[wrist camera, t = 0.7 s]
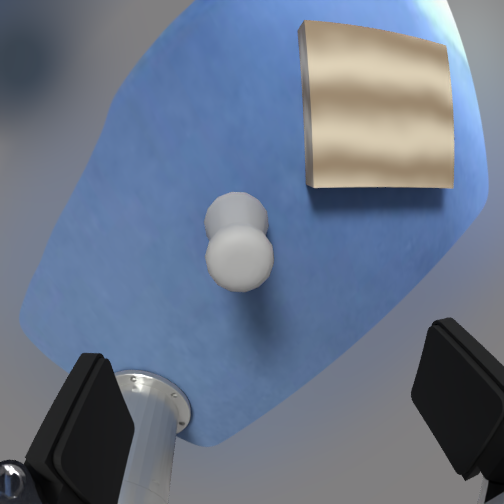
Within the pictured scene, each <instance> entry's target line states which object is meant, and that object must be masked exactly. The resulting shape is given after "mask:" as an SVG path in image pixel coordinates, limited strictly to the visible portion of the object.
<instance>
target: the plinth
mask: <svg viewBox="0 0 504 504" xmlns="http://www.w3.org/2000/svg"><path fill="white" fill-rule="evenodd" d="M298 40H299V53H300V66H301V81H302V97H303V116H304V139H305V169H306V185H308V186H311V187H313V188H333V187H424V188H453V183H454V120H453V103H452V90H451V79H450V70H449V62H448V55H447V48H446V46H445V45H442V44H439V43H435V42H432V41H428V40H424V39H420V38H416V37H412V36H408V35H404V34H399V33H395V32H390V31H385V30H380V29H374V28H368V27H362V26H355V25H348V24H341V23H332V22H322V21H310V20H304V21H303V23H302V24H301V26H300V28H299V29H298Z"/></svg>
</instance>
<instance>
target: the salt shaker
mask: <svg viewBox="0 0 504 504" xmlns="http://www.w3.org/2000/svg"><path fill="white" fill-rule="evenodd" d="M204 225H205V230H206V235H207V237H208V239H209V244H208V248H207V251H206V255H205V259H206V263H207V268H208V272H209V274H210V276H211V277H212V278H213V279H214V281H215V282H216V283H217V285H219V286H221V287H223V288H225V289H227V290H229V291H234V292H247V291H250V290H252V289H255V288H257V287H259V286H260V285H261V284H262V283H263V282H264V281H265V280H266V279H267V278H268V277H269V276H270V273H271V270H272V267H273V264H274V256H273V248H272V244H271V243H270V242H269V240H268V239H267V237H266V233H267V229H268V226H269V225H268V216H267V211H266V210H265V208H264V207H263V205H262V204H261V203H260V201H259V200H258V199H256V198H254V197H253V196H251V195H249V194H247V193H241V192H230V193H228V194H225V195H222V196H220V197H218V198H217V199H216V200H215V201H214V202H213V203H212V204H211V206H210V207H209V208H208V210H207V213H206V217H205V220H204Z"/></svg>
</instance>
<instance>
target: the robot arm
mask: <svg viewBox="0 0 504 504" xmlns="http://www.w3.org/2000/svg"><path fill="white" fill-rule="evenodd" d="M411 398H412V401H413V403H414V404H415V406H416V407H417V409H418V411H419V412H420V414H421V415H422V417H423V419H424V420H425V422H426V423H427V425H428V426H429V428H430V430H431V431H432V433H433V435H434V436H435V438H436V440H437V441H438V443H439V444H440V446H441V448H442V450H443V451H444V453H445V454H446V456H447V458H448V459H449V461H450V463H451V465H452V466H453V468H454V470H455V471H456V472H457V474H459V475H462V477H463V478H464V480H465V481H466V480H468V479H470V478H472V477H474V476H476V475H478V474H479V473H480V471H481V473H482V474H483V481H482V486H481V490H480V495H479V499H478V503H477V504H504V366H503V365H502V364H501V363H499V361H497V359H496V358H495V357H494V356H493V355H491V353H489V352H488V351H487V350H486V349H485V348H484V347H483V346H482V345H481V344H480V343H479V342H478V341H477V340H476V339H475V338H473V336H471V335H470V334H469V333H468V332H467V331H466V330H465V329H464V328H463V327H462V326H461V325H459V324H458V323H457V322H456V321H455V320H454V319H453V318H445V319H440V320H436V321H434V322H433V323H432V326H431V327H429V329H428V331H427V336H426V340H425V344H424V348H423V352H422V356H421V360H420V364H419V367H418V371H417V374H416V377H415V381H414V384H413V387H412V391H411ZM190 416H191V407H190V403H189V401H188V399H187V397H186V395H185V394H184V393H183V392H182V390H181V389H179V388H178V387H177V386H176V385H175V384H173V383H172V382H170V381H169V380H167V379H165V378H163V377H161V376H159V375H156V374H153V373H150V372H146V371H141V370H125V371H120V372H117V373H114V372H113V369H112V366H111V363H110V361H109V360H108V359H105V358H104V356H103V355H102V354H100V353H82V354H81V355H80V357H79V359H78V360H77V362H76V364H75V365H74V367H73V369H72V371H71V372H70V374H69V376H68V377H67V379H66V381H65V383H64V384H63V386H62V388H61V390H60V391H59V393H58V395H57V397H56V399H55V400H54V402H53V404H52V406H51V408H50V410H49V411H48V413H47V415H46V417H45V419H44V421H43V423H42V425H41V427H40V429H39V430H38V432H37V435H36V436H35V438H34V440H33V442H32V444H31V446H30V448H29V451H28V453H27V455H26V457H25V458H26V461H25V463H24V464H22V463H21V462H19V461H16V460H4V461H1V462H0V504H168V499H169V489H170V481H171V472H172V463H173V455H174V447H175V440H176V434H178V433H179V432H181V431H182V430H183V429H184V428H185V427H186V426H187V425H188V423H189V421H190Z"/></svg>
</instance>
